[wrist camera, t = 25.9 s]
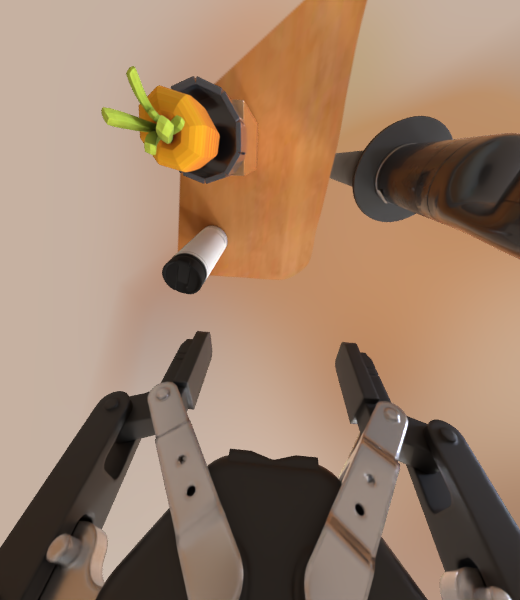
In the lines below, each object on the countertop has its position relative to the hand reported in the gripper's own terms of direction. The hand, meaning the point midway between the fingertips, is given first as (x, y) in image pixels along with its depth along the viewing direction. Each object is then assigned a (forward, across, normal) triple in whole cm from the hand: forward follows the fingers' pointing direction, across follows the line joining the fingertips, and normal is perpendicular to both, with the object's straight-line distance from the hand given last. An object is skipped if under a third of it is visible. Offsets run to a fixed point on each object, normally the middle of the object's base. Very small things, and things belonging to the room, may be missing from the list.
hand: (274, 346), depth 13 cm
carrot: (+20, -8, +11) cm, 24 cm away
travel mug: (+38, -14, -6) cm, 41 cm away
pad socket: (+38, -8, +11) cm, 41 cm away
